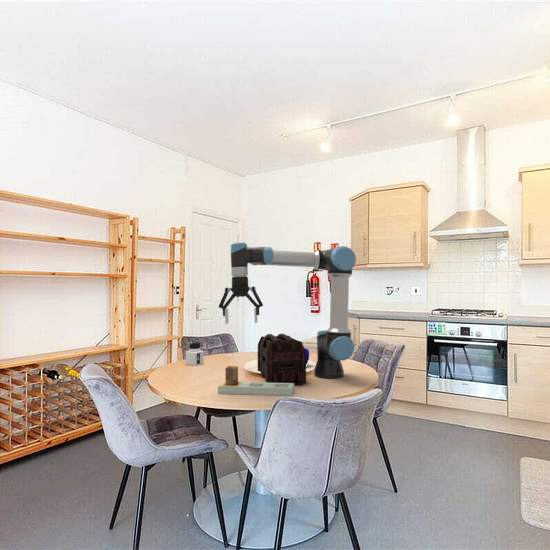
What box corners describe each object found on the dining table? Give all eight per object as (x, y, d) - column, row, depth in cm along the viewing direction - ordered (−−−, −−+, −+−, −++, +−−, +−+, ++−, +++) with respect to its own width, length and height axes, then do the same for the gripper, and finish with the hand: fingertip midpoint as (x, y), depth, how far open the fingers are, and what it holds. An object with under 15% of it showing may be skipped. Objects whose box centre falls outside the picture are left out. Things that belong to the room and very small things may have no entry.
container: (203, 363, 238) (203, 341, 238) (194, 365, 231) (194, 343, 232) (194, 362, 242) (194, 341, 242) (185, 364, 235) (185, 342, 236)
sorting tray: (294, 390, 174) (294, 382, 174) (292, 395, 165) (292, 387, 165) (223, 388, 178) (223, 381, 179) (217, 393, 170) (217, 385, 170)
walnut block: (238, 386, 175) (238, 366, 175) (235, 389, 171) (235, 368, 171) (228, 386, 176) (228, 366, 176) (225, 389, 171) (225, 368, 172)
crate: (308, 385, 182) (308, 340, 183) (268, 388, 178) (268, 341, 179) (290, 370, 217) (289, 332, 217) (256, 372, 213) (256, 333, 213)
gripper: (267, 275, 183) (269, 321, 183) (215, 277, 186) (217, 322, 186) (265, 275, 176) (267, 323, 175) (211, 277, 179) (212, 324, 178)
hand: (241, 323), depth 180 cm, fingers open, 13 cm apart
